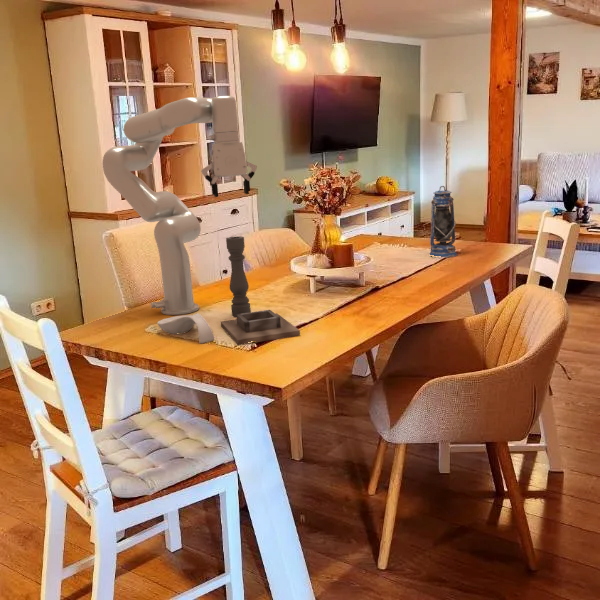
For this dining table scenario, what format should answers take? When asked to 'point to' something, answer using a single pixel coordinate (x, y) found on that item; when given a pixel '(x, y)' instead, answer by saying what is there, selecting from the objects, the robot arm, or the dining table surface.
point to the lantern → (442, 225)
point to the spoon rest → (187, 326)
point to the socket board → (259, 327)
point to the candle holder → (238, 276)
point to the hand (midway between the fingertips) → (231, 195)
